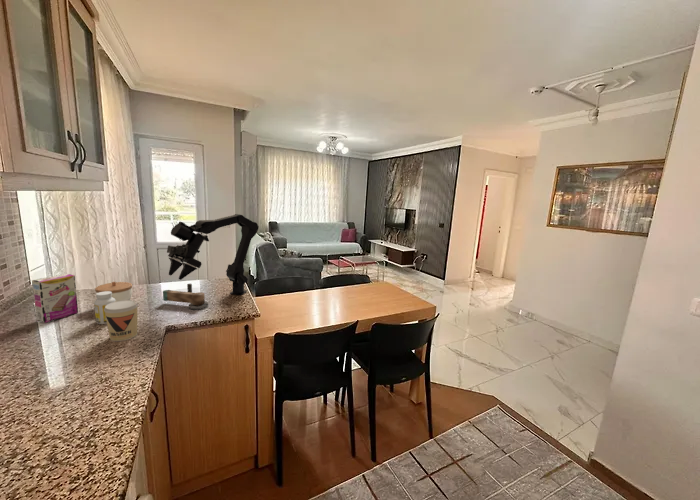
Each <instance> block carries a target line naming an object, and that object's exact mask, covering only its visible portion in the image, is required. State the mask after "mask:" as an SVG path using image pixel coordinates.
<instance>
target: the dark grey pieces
mask: <svg viewBox="0 0 700 500" xmlns="http://www.w3.org/2000/svg"><path fill="white" fill-rule="evenodd" d="M186 286H187V290H186V291H187V292H192V293H193V285H192V283H187V285H186ZM208 307H209V302H208V301H206V300H205V303H204V304H203V305H198V306H196V305H193V304H192V303H188V309H189V310H192V311H199V310H204V309H207V308H208Z"/></svg>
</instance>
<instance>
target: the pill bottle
mask: <svg viewBox="0 0 700 500" xmlns="http://www.w3.org/2000/svg"><path fill="white" fill-rule="evenodd" d="M111 296H112V292H111V291H104V292H99V293H97V294H96V293H95V298H96V299H95V300H94V302H93V307H94V308H93V309H94V315H95V317H94V318H95V322H96V323H97V324H99V325H107V321H106V316H105V311H104V308H105V306H106V305H108V304H110V303H113V302H116V300H115V298H113V297H111Z"/></svg>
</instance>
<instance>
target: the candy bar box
mask: <svg viewBox="0 0 700 500" xmlns="http://www.w3.org/2000/svg"><path fill="white" fill-rule="evenodd" d="M31 285H32V294H33V302H34V308H35V309H34V311H35V318H36V322H40V323H43V324H46V323H50V322H52V321H56V320H59V319H62V318H65V317H69V316H72V315H75V314H78V313H79V307H78V297H77V286H76V285H77V284H76V276H75V275H74V274H71V273H63V274H58V275H54V276H53V275H52V276H47V277H41V278H37V279H32V280H31Z"/></svg>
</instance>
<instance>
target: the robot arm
mask: <svg viewBox="0 0 700 500" xmlns="http://www.w3.org/2000/svg"><path fill="white" fill-rule="evenodd" d="M235 224H237V225H238V226H239V227H240V232H241V238H240V242H239V244H238V247H237V251H236V254H235V257H234V260H233V262H232V263H231V264H230V263H229V264H227V268H226V270H225V273H226V274H225V275H226V277H227V278H228V279H229V281H230V282H232V291H231V292H229V295H237V296H243V295H244V294H245V293H246V292H247V291H248V290H246V289H245V284H246V283H248V280H249V278H248V277H247V276H245V266H244V265H245V264H244V263H245V260H246V257H247V253H248V251H249V248H250V244H251V241H252V239H253V238H254V237H255V236H256V234H257V232H258V230H259V225H258V223H257V222H255V221H252V220H250V219H249V218H247V217H246V216H244V215H243V214H240V213H239V214H238V213H235V214H233V215H229V216H224V217H220V218H217V219H205V220H204V219H201V220H197V221H195V223H194V224H191V225H188V224H186V223H185V222H183V221H179V222H178V223H177V224H175V225H174V226H173V227H172V228H171V230H170V235H171V236H173V237H175V238H177V239H179V240H180V241H181V240H182V241H183V242H186V243H183V244H180V245H179V244H177V245H170V244H169V245H167V250H166V253H168V255H167V257H168V259H169V261H170V265H169V270H168V276H172V275H174V274H175V272H176V271H177V270H179V268H181V267H182V269H181V271H180V273H179V277H178V280H180V281H181V280H183V279H184V278H185V277H187V276H188V275H190V274H191V273H193V272H194V271H196V270H198V269H201V267H202V265H203V263H202V261H200V260H198V259H196V258H195V257H196V255H197V253H198V254H199V253H200V249H201V246H202V244H203V243H204V241H205V242H210V239H209V236H208V235H207V234H211V233H213V232H216V231H217V230H218V229H220V228H224V227H228V226H231V225H235Z"/></svg>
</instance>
